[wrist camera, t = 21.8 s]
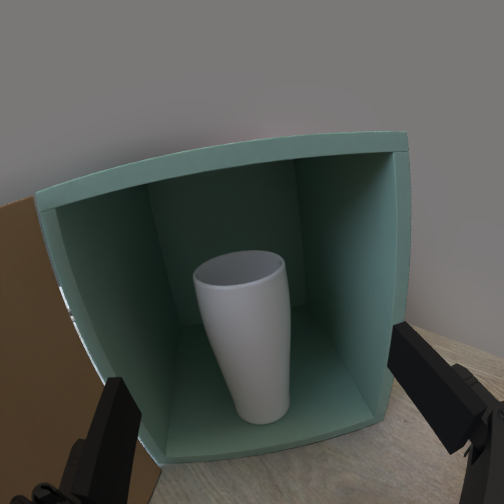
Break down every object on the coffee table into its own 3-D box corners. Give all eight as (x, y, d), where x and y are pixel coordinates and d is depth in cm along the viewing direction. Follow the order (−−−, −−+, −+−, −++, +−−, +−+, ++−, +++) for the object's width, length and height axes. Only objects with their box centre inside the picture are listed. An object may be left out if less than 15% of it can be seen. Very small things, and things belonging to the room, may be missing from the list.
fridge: (383, 420, 22) (407, 131, 14) (158, 463, 21) (35, 192, 13) (313, 306, 45) (297, 143, 37) (176, 330, 43) (137, 169, 35)
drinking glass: (311, 413, 24) (305, 266, 19) (245, 444, 21) (206, 298, 17) (277, 375, 30) (259, 243, 25) (219, 398, 27) (182, 265, 23)
